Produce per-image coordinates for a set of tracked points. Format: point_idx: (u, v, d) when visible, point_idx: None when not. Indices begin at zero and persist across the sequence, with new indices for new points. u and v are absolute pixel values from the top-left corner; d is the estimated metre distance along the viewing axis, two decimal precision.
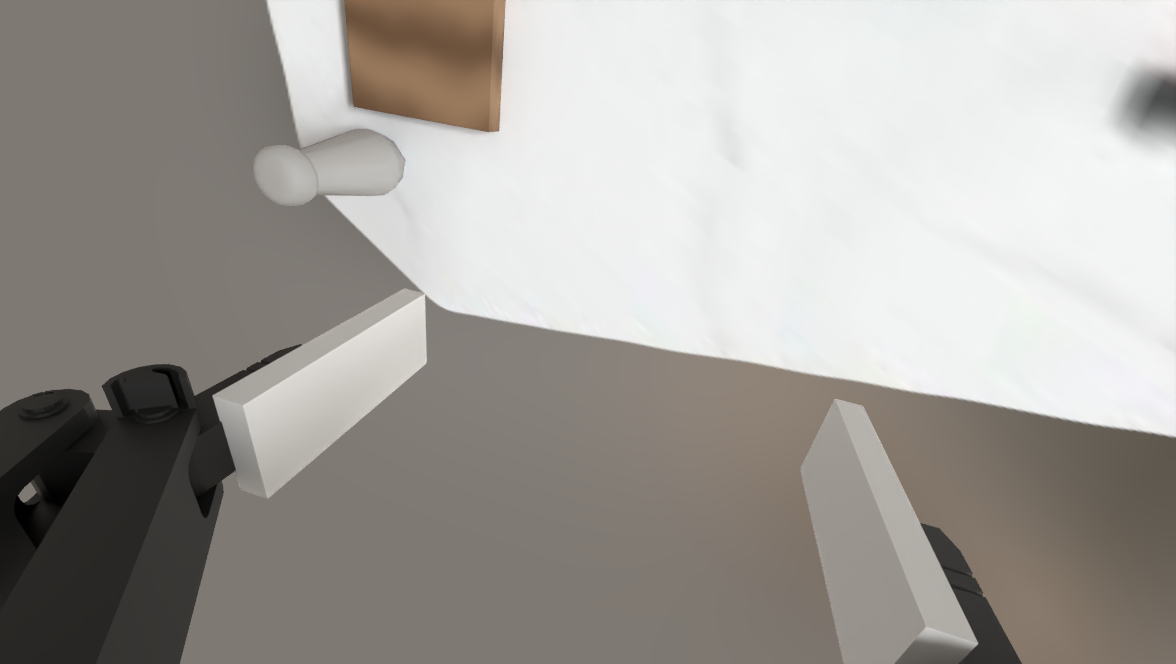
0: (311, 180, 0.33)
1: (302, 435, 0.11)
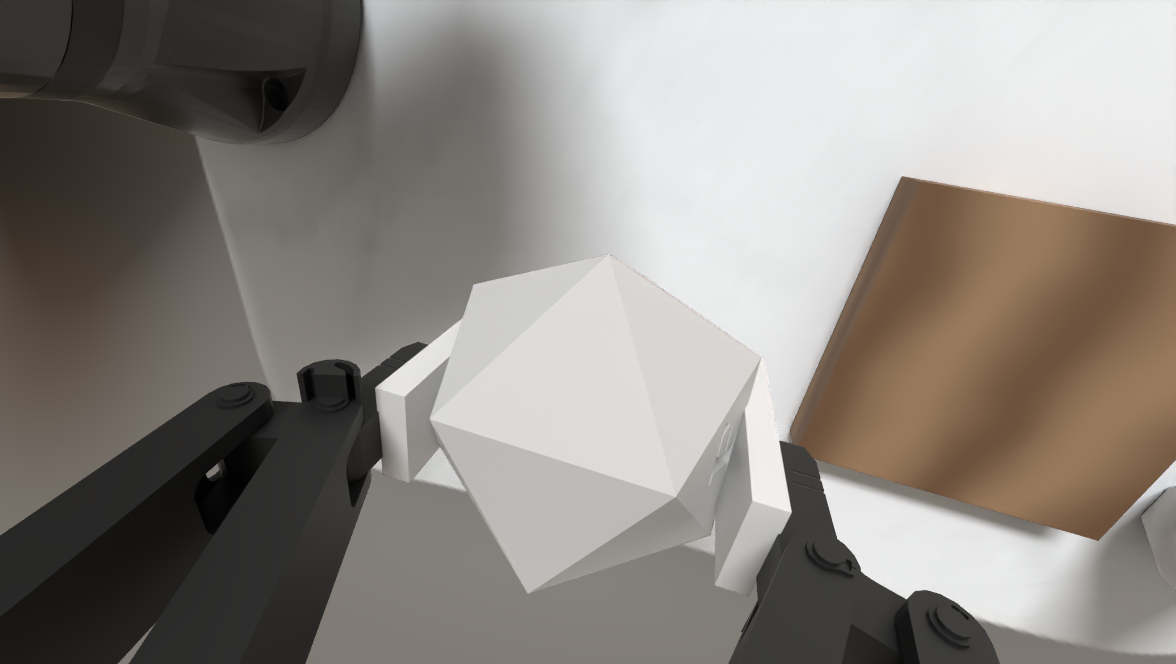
0: None
1: None
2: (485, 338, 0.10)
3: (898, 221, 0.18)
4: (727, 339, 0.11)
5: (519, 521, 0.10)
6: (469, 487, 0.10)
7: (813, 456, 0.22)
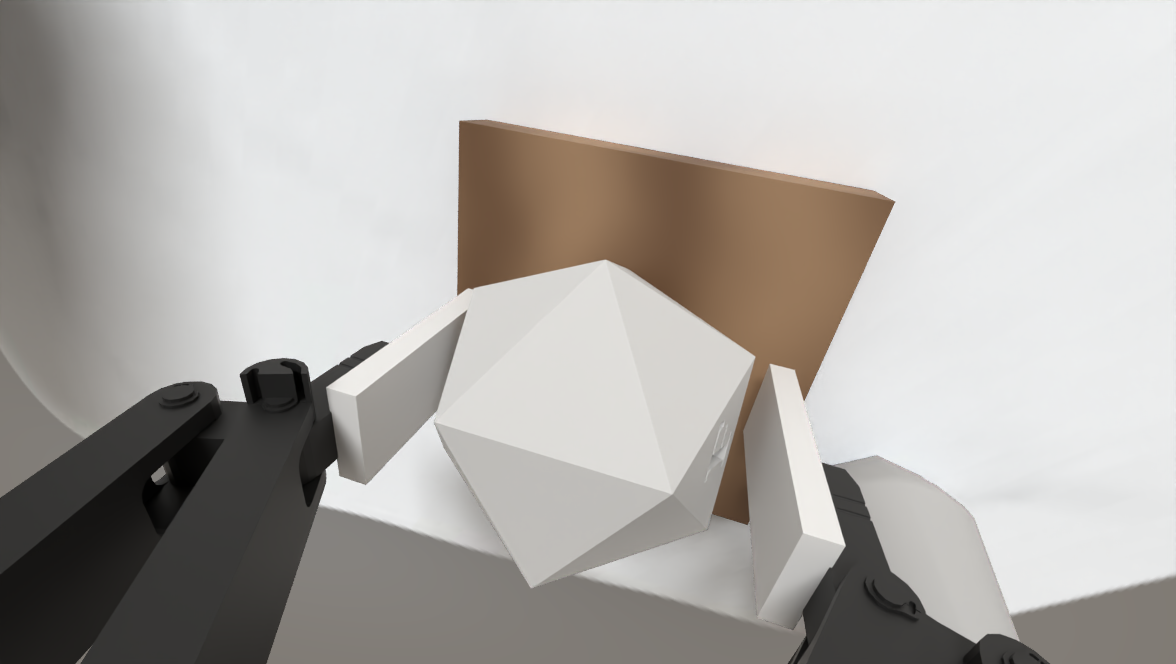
0: None
1: (393, 426, 0.12)
2: (486, 342, 0.11)
3: (464, 170, 0.15)
4: (722, 339, 0.11)
5: (521, 519, 0.10)
6: (473, 487, 0.10)
7: None
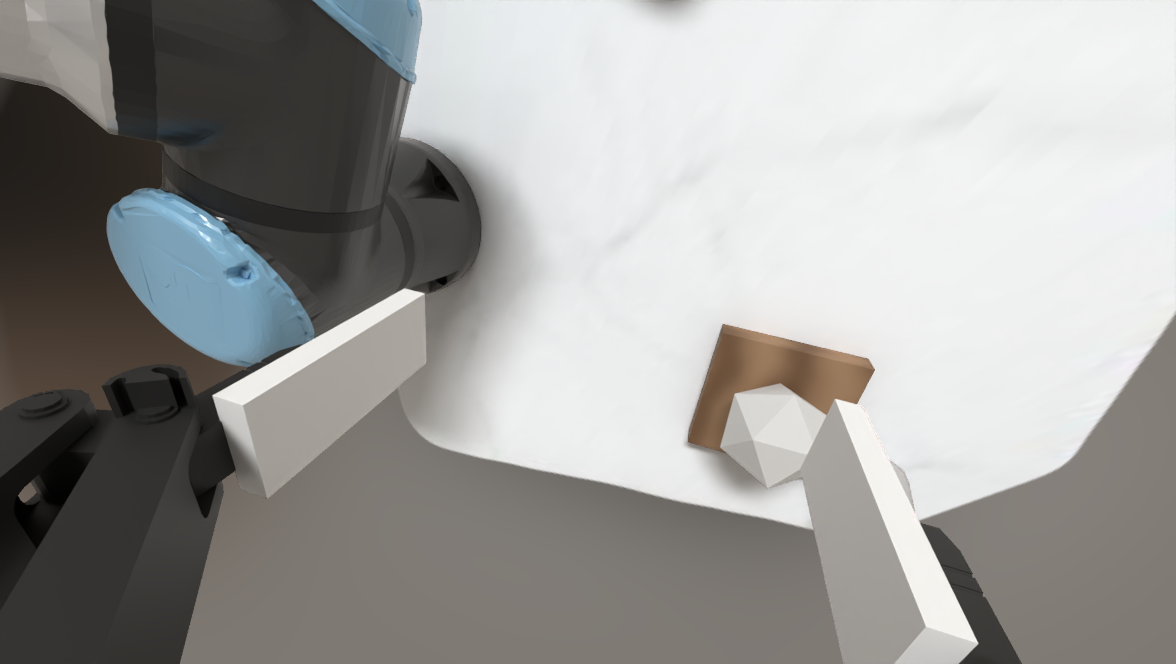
0: None
1: (302, 435, 0.11)
2: (758, 417, 0.37)
3: (718, 345, 0.42)
4: (822, 414, 0.38)
5: (771, 466, 0.37)
6: (758, 457, 0.37)
7: (695, 443, 0.47)
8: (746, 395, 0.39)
